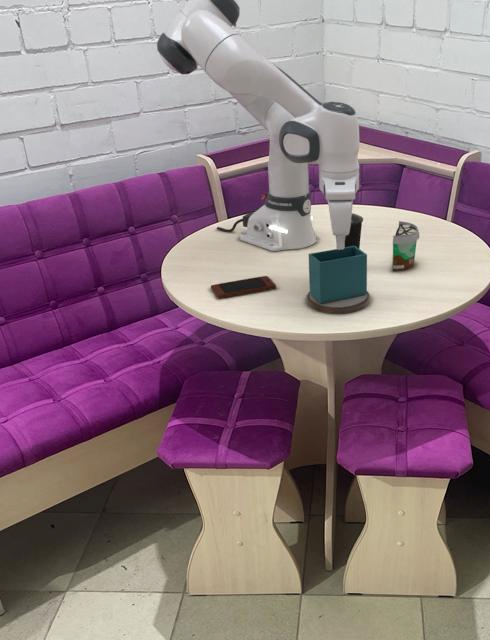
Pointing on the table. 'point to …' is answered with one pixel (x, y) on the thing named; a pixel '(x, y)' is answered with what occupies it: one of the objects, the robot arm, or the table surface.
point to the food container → (404, 246)
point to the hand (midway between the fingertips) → (339, 241)
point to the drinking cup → (354, 231)
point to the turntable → (340, 304)
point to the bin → (338, 274)
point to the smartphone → (242, 286)
